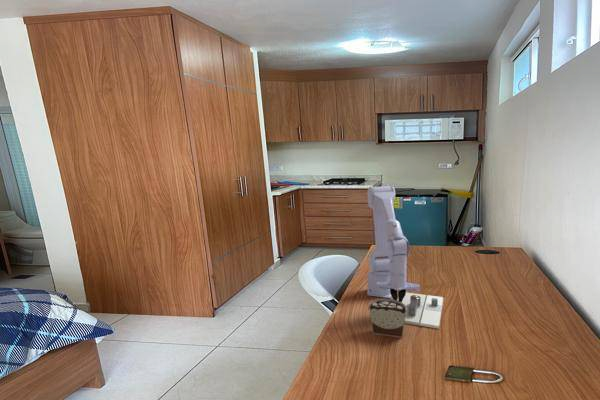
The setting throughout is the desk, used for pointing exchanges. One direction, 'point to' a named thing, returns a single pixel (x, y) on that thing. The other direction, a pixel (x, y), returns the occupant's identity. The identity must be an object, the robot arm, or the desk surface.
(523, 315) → the desk surface
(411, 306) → the bar
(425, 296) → the door board
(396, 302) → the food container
